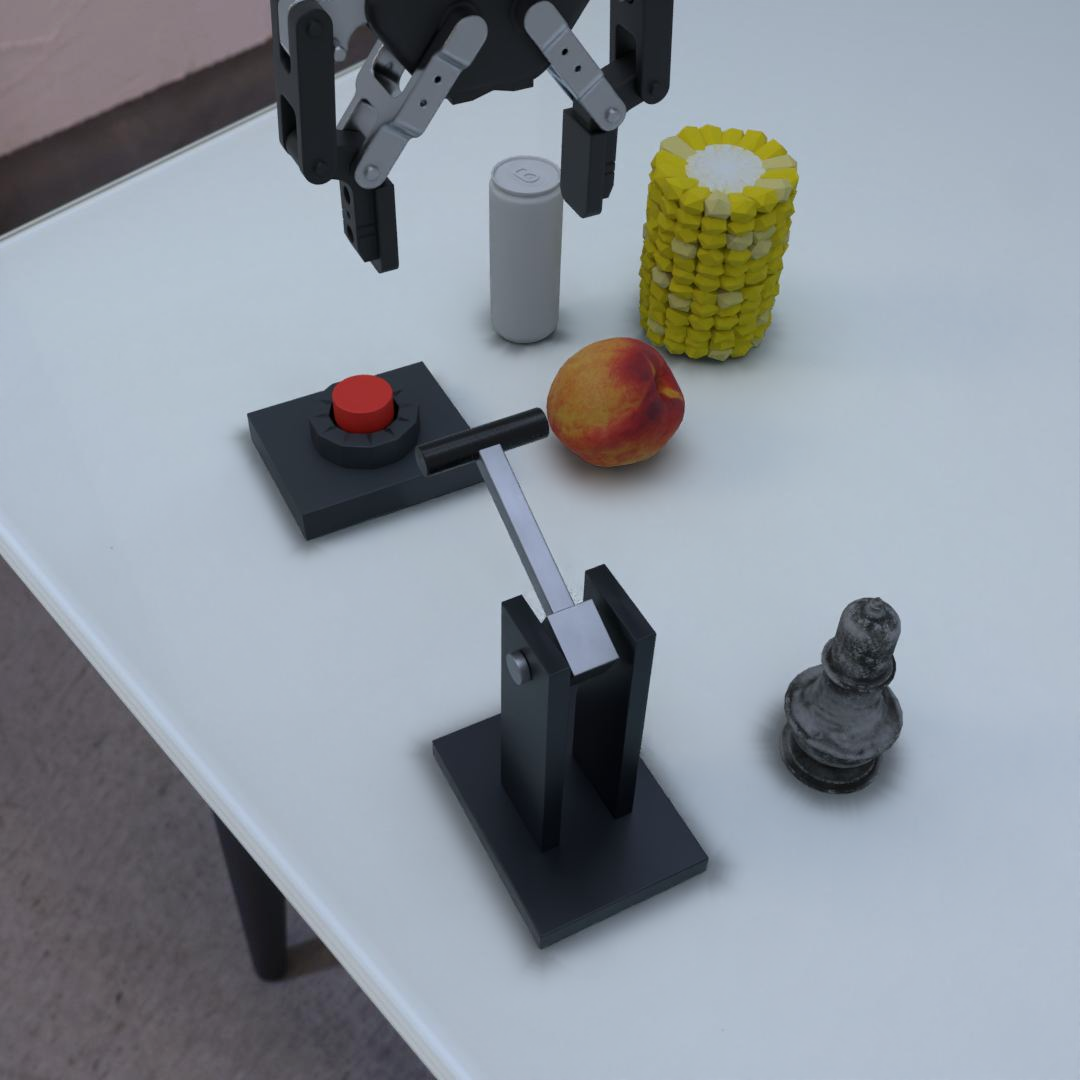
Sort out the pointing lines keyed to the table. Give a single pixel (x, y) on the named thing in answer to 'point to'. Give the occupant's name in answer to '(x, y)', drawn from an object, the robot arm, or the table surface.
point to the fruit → (615, 402)
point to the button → (363, 404)
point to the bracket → (570, 775)
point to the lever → (527, 534)
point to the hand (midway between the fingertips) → (482, 233)
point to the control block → (358, 454)
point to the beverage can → (525, 247)
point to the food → (714, 240)
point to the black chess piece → (845, 703)
